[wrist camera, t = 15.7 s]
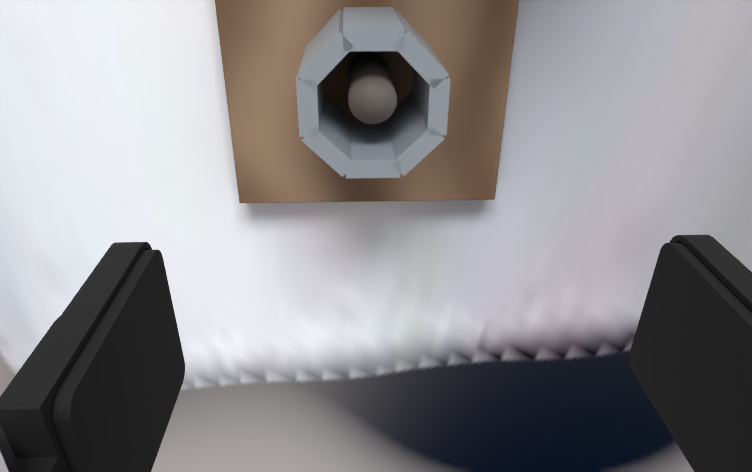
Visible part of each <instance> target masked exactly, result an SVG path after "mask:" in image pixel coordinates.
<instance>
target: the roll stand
mask: <svg viewBox="0 0 752 472" xmlns="http://www.w3.org/2000/svg"><path fill="white" fill-rule="evenodd" d="M215 5H216V13H217V21H218V29H219V37H220V46H221V54H222V62H223V70H224V78H225V87H226V95H227V103H228V111H229V119H230V128H231V136H232V144H233V152H234V160H235V169H236V177H237V185H238V193H239V201H240V203H277V202H349V201H422V200H494V199H495V191H496V183H497V175H498V167H499V158H500V150H501V142H502V133H503V125H504V117H505V108H506V100H507V92H508V83H509V75H510V67H511V58H512V50H513V42H514V34H515V25H516V17H517V9H518V0H215ZM343 7H393V8H394V10H395V9H397V10H398V11H399V12H400V13H401V14H402V15H403V16H404V17H405V19H406V20H407V21H408V22H409V23H410V24H411V25H412V26H413V27H414V28H415V30H416V31H417V32H418V33H419V34H420V35H421V36H422V37H423V38H424V39H425V40H426V42H427V43H428V44H429V45H430V46H431V48H432V50H433V51H434V53H435V54H436V56H437V57H438V59H439V60H440V62H441V63H442V65H443V66H444V68H445V69H446V71H447V72H448V74H449V75H448V76H449V77H450V93H449V108H448V122H447V135H443V136H444V140H443V141H442V142H441V143H440V144H439V145H438V146H437V147H436V148H434V149H433V150H432V151H431V152H430V153H429V154H428V155H427V156H426V157H425V158H423V159H422V160H421V161H420V162H419V163H418V164H417V165H416V166H415V167H414V168H413V169H411V170H410V171H409V172H408V173H407V174H406V175H405V176H403V175H402V174H401V173H400V178H346V174H345V175H344V176H343V177H342V176H341V175H339V174H338V173H337V172H336V171H335V170H334V169H333V168H332V167H330V166H329V165H328V164H327V163H326V162H325V161H324V160H323V159H321V158H320V157H319V156H318V155H317V154H316V153H315V152H313V151H312V150H311V149H310V148H309V147H308V146H307V145H306V144H304V143H303V142H302V141H301V139H302V137H299V123H298V107H297V91H296V77H297V74H298V71H299V68H300V64H301V61H302V58H303V55H304V51H305V49H306V45H307V44H308V43H309V42H310V41H311V40H312V39H313V38H314V36H315V35H316V34H317V33H318V32H319V31H320V30H321V29H322V28H323V27H324V25H325V24H326V23H327V22H328V21H329V20H330V19H331V18H332V17H333V16H334V15H335V13H336V12H337V11H338V10H339V9H341V10H342V11H343ZM323 81H324V92H325V93H326V94H327V95H328V96H329V97H330V98H331V99H332V100H333V101H335V102H336V103H337V104H338V105H339V106H340V107H341V108H342V109H343V110H344V111H345V112H346V113H347V114H348V115H349V116H350V117H356V118H357V119H358V120H360V121H361V122H363V123H366V124H378V123H381V122H384V121H385V120H387V119H388V118H389V117H390V116H391V115H392V114H393V112H394V110H395V108H396V106H397V105H398V104H399V103H400V102H401V101H402V100H403V99H404V98H405V97H407V96H408V95H409V94H410V93H411V92H412V87H413V67H412V66H411V65H410V64H409V63H408V62H407V61H406V60H405V58H404V57H403V56H402V55H401V54H400V53H399V52H398V51H350V52H349V53H348V54H347V55H346V56H345V57H344V58H343V59H342V60H341V61H340V62H339V63H338V64H337V65H336V66H335V67H334V68H333V69H332V70H331V72H330V73H329V74H328V75H327V76H326V77H325V78H324V79H323Z"/></svg>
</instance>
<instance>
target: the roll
mask: <svg viewBox="0 0 752 472" xmlns="http://www.w3.org/2000/svg"><path fill="white" fill-rule="evenodd" d="M350 51H398V52H399V53H400V54H401V55H402V56H403V57H404V58H405V60H406V61H407V62H408V63H409V64H410V65H411V66H412V67H413V87H412V92H411V93H410V94H409V95H408V96H407V97H405V98H404V99H403V100H402V101H401V102H400V103H399V104H398V105H397V106H396V108H395V110H394V112H393V114H392V115H391V116H390V117H389V118H388V119H387V120H385V121H384V122H381V123H378V124H366V123H363V122H361V121H360V120H358V119H357V118H356V117H350V116H349V115H348V114H347V113H346V112H345V111H344V110H343V109H342V108H341V107H340V106H339V105H338V104H337V103H336V102H335V101H333V100H332V99H331V98H330V97H329V96H328V95H327V94H326V93H325V92H324V81H323V79H324V78H325V77H326V76H327V75H328V74H329V73H330V72H331V70H332V69H333V68H334V67H335V66H336V65H337V64H338V63H339V62H340V61H341V60H342V59H343V58H344V57H345V56H346V55H347V54H348V53H349V52H350ZM448 75H449V74H448V72H447V71H446V69H445V68H444V66H443V65H442V63H441V62H440V60H439V59H438V57H437V56H436V54H435V53H434V51H433V50H432V48H431V46H430V45H429V44H428V43H427V42H426V40H425V39H424V38H423V37H422V36H421V35H420V34H419V33H418V32H417V31H416V30H415V28H414V27H413V26H412V25H411V24H410V23H409V22H408V21H407V20H406V19H405V17H404V16H403V15H402V14H401V13H400V12H399V11H398V10H397V9H395V10H394V8H393V7H343V11H342V10H341V9H339V10H338V11H337V12H336V13H335V15H334V16H333V17H332V18H331V19H330V20H329V21H328V22H327V23H326V24H325V25H324V27H323V28H322V29H321V30H320V31H319V32H318V33H317V34H316V35H315V36H314V38H313V39H312V40H311V41H310V42H309V43H308V44H307V45H306V49H305V51H304V55H303V58H302V61H301V64H300V68H299V71H298V74H297V77H296V91H297V107H298V123H299V137H302V139H301V141H302V142H303V143H304V144H306V145H307V146H308V147H309V148H310V149H311V150H312V151H313V152H315V153H316V154H317V155H318V156H319V157H320V158H321V159H323V160H324V161H325V162H326V163H327V164H328V165H329V166H330V167H332V168H333V169H334V170H335V171H336V172H337V173H338V174H339V175H341V176H342V177H343V176H344V175H345V174H346V178H400V173H401V174H402V175H403V176H405V175H406V174H407V173H408V172H409V171H410V170H411V169H413V168H414V167H415V166H416V165H417V164H418V163H419V162H420V161H421V160H422V159H423V158H425V157H426V156H427V155H428V154H429V153H430V152H431V151H432V150H433V149H434V148H436V147H437V146H438V145H439V144H440V143H441V142H442V141H443V140H444V136H443V135H447V122H448V108H449V93H450V77H449V76H448Z"/></svg>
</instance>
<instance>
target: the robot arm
mask: <svg viewBox="0 0 752 472" xmlns="http://www.w3.org/2000/svg"><path fill="white" fill-rule="evenodd" d="M630 365H631V368H632V370H633V372H634V374H635V376H636V377H637V379H638V380H639V382H640V384H641V386H642V387H643V389H644V390H645V392H646V394H647V395H648V397H649V398H650V400H651V402H652V403H653V405H654V407H655V408H656V410H657V411H658V413H659V415H660V416H661V418H662V420H663V421H664V423H665V425H666V426H667V428H668V430H669V431H670V432H671V434H672V436H673V438H674V439H675V441H676V443H677V444H678V446H679V447H680V449H681V450H682V452H683V454H684V456H685V457H686V459H687V460H688V462H689V464H690V465H691V467H692V469H693V470H694V472H752V272H751V271H750V270H749V269H748V268H746V267H745V266H744V265H743V264H742V263H741V262H740V261H739V260H738V259H736V258H735V257H734V256H733V255H732V254H731V253H730V252H729V251H728V250H726V249H725V248H724V247H723V246H722V245H721V244H720V243H719V242H718V241H716V240H715V239H714V238H713V237H711V236H710V235H677V236H675V237H673V238H672V239H671V241H670V243H666V244H664V245H663V246H662V248H661V250H660V253H659V257H658V260H657V263H656V267H655V270H654V273H653V277H652V280H651V283H650V287H649V290H648V294H647V297H646V300H645V304H644V307H643V310H642V314H641V317H640V320H639V324H638V327H637V330H636V334H635V337H634V341H633V344H632V347H631V351H630ZM184 374H185V362H184V357H183V352H182V347H181V343H180V338H179V333H178V328H177V323H176V319H175V314H174V309H173V304H172V300H171V295H170V290H169V285H168V281H167V276H166V271H165V266H164V262H163V257H162V254H161V252H160V251H159V250H152V248H151V246H150V244H149V243H147V242H123V243H113V244H112V245H111V246H110V248H109V249H108V251H107V252H106V253H105V255H104V256H103V258H102V259H101V260H100V262H99V263H98V265H97V266H96V267H95V269H94V270H93V272H92V273H91V274H90V276H89V277H88V279H87V280H86V281H85V283H84V284H83V286H82V287H81V288H80V290H79V291H78V293H77V294H76V295H75V297H74V298H73V300H72V301H71V302H70V304H69V305H68V307H67V308H66V309H65V311H64V312H63V314H62V315H61V316H60V317H59V318H58V319H57V320H56V321H55V322H54V323H53V325H52V326H51V327H50V329H49V330H48V331H47V333H46V334H45V336H44V337H43V338H42V340H41V341H40V343H39V344H38V345H37V347H36V348H35V349H34V351H33V352H32V354H31V355H30V356H29V358H28V359H27V361H26V362H25V363H24V365H23V366H22V368H21V369H20V370H19V372H18V373H17V374H16V376H15V377H14V379H13V380H12V381H11V383H10V384H9V386H8V387H7V388H6V390H5V391H4V393H3V394H2V395H1V397H0V472H151V470H152V467H153V464H154V462H155V459H156V456H157V453H158V450H159V447H160V444H161V442H162V439H163V436H164V434H165V431H166V428H167V425H168V422H169V419H170V417H171V414H172V411H173V408H174V405H175V403H176V400H177V397H178V394H179V391H180V389H181V386H182V383H183V380H184Z"/></svg>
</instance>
